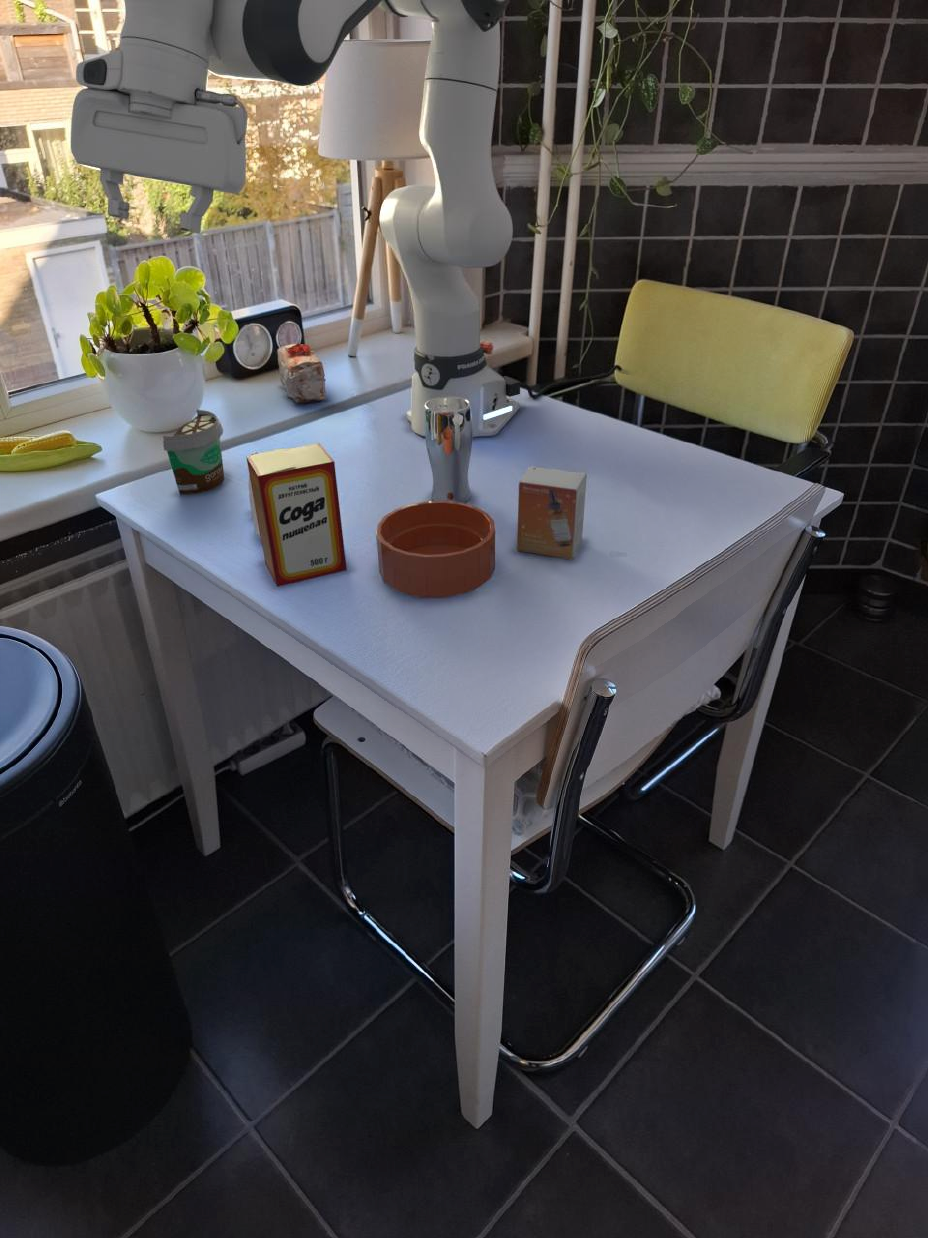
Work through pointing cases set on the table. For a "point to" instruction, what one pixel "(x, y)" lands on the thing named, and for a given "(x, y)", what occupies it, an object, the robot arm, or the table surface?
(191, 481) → the food container
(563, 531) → the small box
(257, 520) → the shaker set
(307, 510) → the baking soda box
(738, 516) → the table surface
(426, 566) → the bowl
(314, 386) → the food item
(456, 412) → the beer glass
